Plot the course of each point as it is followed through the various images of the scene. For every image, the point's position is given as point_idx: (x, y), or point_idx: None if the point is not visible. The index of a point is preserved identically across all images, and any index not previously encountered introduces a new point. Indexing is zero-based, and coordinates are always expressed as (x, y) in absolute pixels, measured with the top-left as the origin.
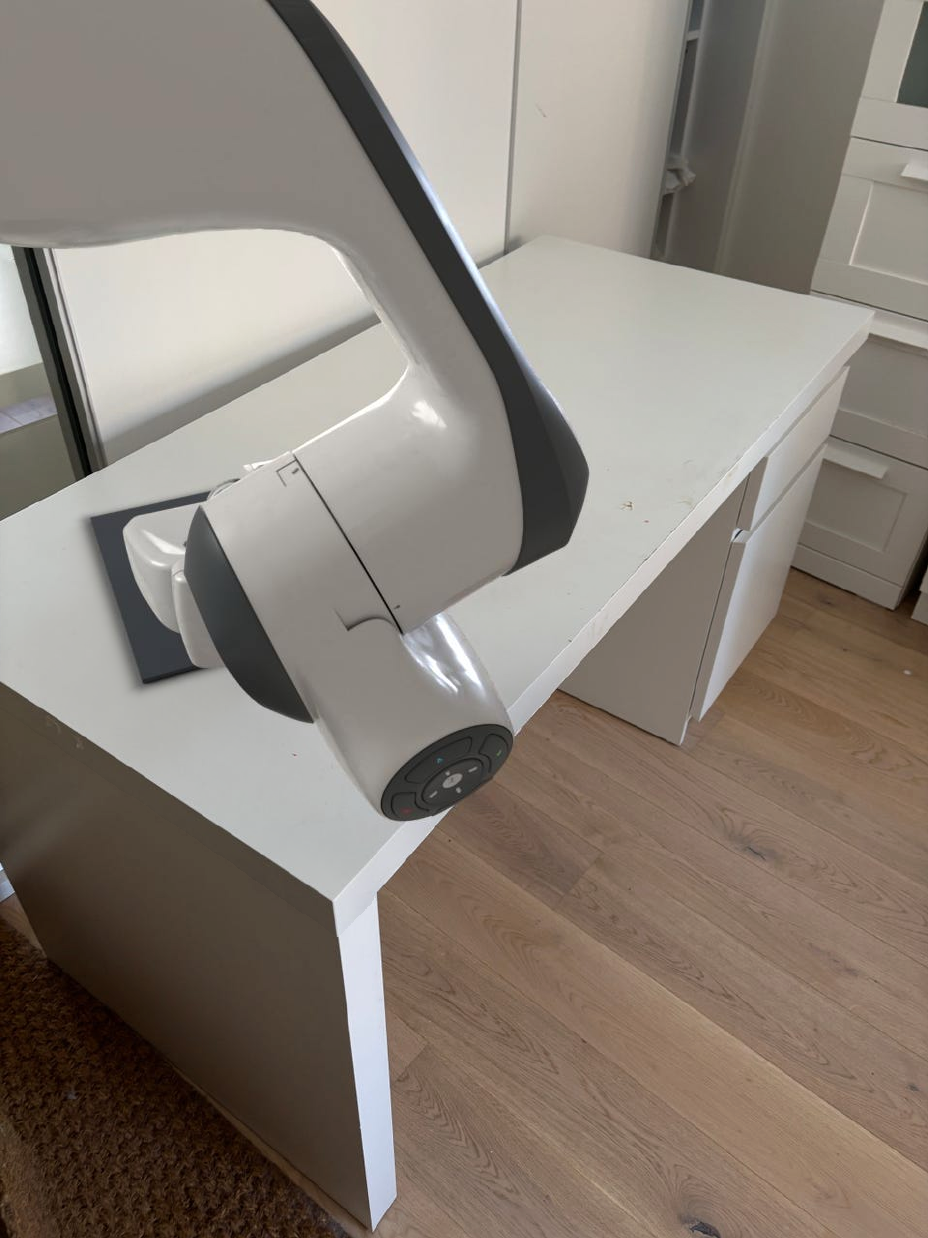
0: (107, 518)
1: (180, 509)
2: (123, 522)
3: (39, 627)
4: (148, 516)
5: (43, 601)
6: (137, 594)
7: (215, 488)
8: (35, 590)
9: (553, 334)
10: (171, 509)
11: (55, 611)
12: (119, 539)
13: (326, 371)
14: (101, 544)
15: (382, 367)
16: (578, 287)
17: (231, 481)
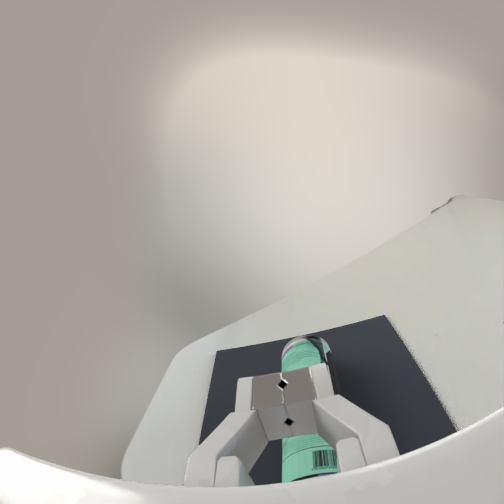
0: (226, 353)
1: (38, 473)
2: (233, 357)
3: (152, 429)
4: (6, 458)
5: (164, 409)
6: (218, 422)
7: (289, 343)
8: (165, 399)
9: (484, 230)
10: (34, 463)
11: (166, 420)
12: (226, 370)
13: (375, 256)
14: (214, 373)
15: (405, 252)
16: (483, 211)
17: (302, 337)
